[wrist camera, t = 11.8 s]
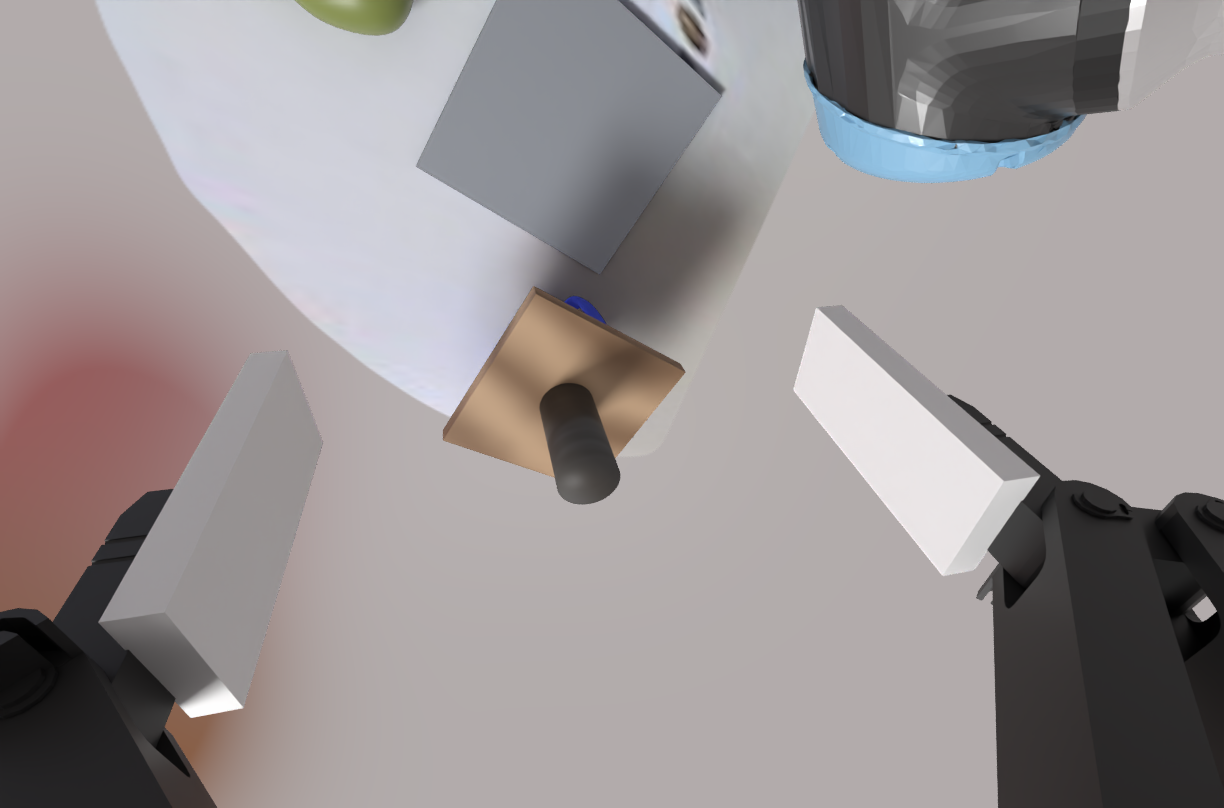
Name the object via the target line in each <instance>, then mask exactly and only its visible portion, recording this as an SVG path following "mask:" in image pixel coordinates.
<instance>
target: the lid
mask: <svg viewBox="0 0 1224 808" xmlns="http://www.w3.org/2000/svg"><path fill="white" fill-rule="evenodd" d="M684 374H685V370H684V369H683V367H682V366H681V364H680V363H678V362H676V361H674V360H672V359H670V358H669V357H667V356H665V355H663V354H661V353H659V352H657V351H655V350H653V349H652V348H650V347H648V346H646V345H644V344H642V343H640V342H638V341H636V340H635V339H633V338H631V337H629V336H627V335H625V334H623V333H621V332H619V331H618V330H616V329H614V328H612V327H610V326H608V325H606V324H604V323H602V322H601V321H599V320H597V319H595V318H593V317H591V316H589V315H587V314H585V313H584V312H582V311H580V310H578V309H576V308H574V307H572V306H570V305H568V304H567V303H565V302H563V301H561V300H559V299H557V298H555V297H553V296H551V295H550V294H548V293H546V292H544V291H542V290H540V289H538V288H536V287H534V286H533V288H532V289H531V291H530V292H529V294H528V296H527V297H526V299H525V300H524V302H523V304H522V305H521V307H520V308H519V310H518V311H517V313H516V315H515V316H514V318H513V319H512V321H511V323H510V324H509V326H508V327H507V329H506V331H505V332H504V334H503V335H502V337H501V339H500V340H499V342H498V343H497V345H496V347H495V348H494V350H493V351H492V353H491V354H490V356H489V358H488V359H487V361H486V362H485V364H484V366H483V367H482V369H481V370H480V372H479V374H478V375H477V377H476V378H475V380H474V382H473V383H472V385H471V386H470V388H469V389H468V391H467V393H466V394H465V396H464V397H463V399H462V401H461V402H460V404H459V405H458V407H457V409H456V410H455V412H454V413H453V415H452V417H451V418H450V420H449V421H448V423H447V425H446V426H445V428H444V429H443V440H444V441H446V442H449V443H452V444H456V445H459V446H462V447H464V448H467V449H470V450H473V451H476V452H479V453H482V454H485V455H488V456H492V457H494V458H497V459H500V460H503V461H507V462H510V463H512V464H516V465H518V466H522V467H525V468H528V469H531V470H534V471H537V472H539V473H542V474H545V475H549V476H551V477H554V478H555V480H556V485H557V489H558V492H559V494H560V495H561V497H562V498H563V499H565V500H566V501H568V502H571V503H574V504H591V503H595V502H598V501H600V500H602V499H604V498H606V497H607V496H609V495H610V494H611V493H612V492H613V491H614V490H615V488H616V487H617V486H618V484H619V481H620V471H619V468H618V466H617V463H616V460H615V458H616V457H617V456H618V454H619V453H620V452H621V451H622V449H623V448H624V447H625V446H626V444H627V443H628V442H629V441H630V440H631V438H632V437H633V436H634V435H635V433H636V432H637V431H638V430H639V429H640V427H641V426H642V425H643V424H644V422H645V421H646V420H647V419H648V418H649V416H650V415H651V414H652V413H653V411H654V410H655V409H656V408H657V407H658V405H659V404H660V403H661V402H662V400H663V399H664V398H665V397H666V396H667V394H668V393H669V392H670V391H671V389H672V388H673V387H674V386H675V385H676V383H677V382H678V381H679V380H680V378H681V377H682V376H683V375H684Z"/></svg>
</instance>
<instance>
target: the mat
mask: <svg viewBox="0 0 1224 808" xmlns="http://www.w3.org/2000/svg"><path fill="white" fill-rule="evenodd" d="M721 97H722V96H721V95H720V94H719V93H718V92H717V91H716V90H715V89H714V88H713V87H712V86H711V85H709V84H708V83H707V82H706V81H705V80H704V79H703V78H702V77H701V76H700V75H699V74H698V73H696V72H695V71H694V70H693V69H692V68H691V67H690V66H689V65H688V64H687V63H686V62H685V61H683V60H682V59H681V58H680V57H679V56H678V55H677V54H676V53H675V52H674V51H673V50H672V49H670V48H669V47H668V46H667V45H666V44H665V43H664V42H663V41H662V40H661V39H660V38H659V37H657V36H656V35H655V34H654V33H653V32H652V31H651V30H650V29H649V28H648V27H647V26H646V25H644V24H643V23H642V22H641V21H640V20H639V19H638V18H637V17H636V16H635V15H634V14H633V13H631V12H630V11H629V10H628V9H627V8H626V7H625V6H624V5H623V4H622V3H621V2H620V1H618V0H496V2H495V4H494V6H493V8H492V10H491V12H490V14H489V16H488V18H487V21H486V23H485V25H484V27H483V29H482V31H481V33H480V35H479V37H478V39H477V41H476V43H475V45H474V47H473V49H472V51H471V54H470V56H469V58H468V60H467V62H466V64H465V66H464V68H463V70H462V72H461V74H460V76H459V78H458V80H457V82H456V84H455V87H454V89H453V91H452V93H451V95H450V97H449V99H448V101H447V103H446V105H445V107H444V109H443V111H442V113H441V115H440V117H439V120H438V122H437V124H436V126H435V128H434V130H433V132H432V134H431V136H430V138H429V140H428V142H427V144H426V146H425V148H424V150H423V153H422V155H421V157H420V159H419V161H418V163H417V165H416V167H417V168H419V169H421V170H423V171H424V172H426V173H428V174H429V175H431V176H433V177H434V178H436V179H438V180H440V181H441V182H443V183H445V184H446V185H448V186H450V187H451V188H453V189H455V190H457V191H458V192H460V193H462V194H463V195H465V196H467V197H468V198H470V199H472V200H474V201H475V202H477V203H479V204H480V205H482V206H484V207H485V208H487V209H489V210H491V211H492V212H494V213H496V214H497V215H499V216H501V217H502V218H504V219H506V220H508V221H509V222H511V223H513V224H514V225H516V226H518V227H519V228H521V229H523V230H525V231H526V232H528V233H530V234H531V235H533V236H535V237H536V238H538V239H540V240H542V241H543V242H545V243H547V244H548V245H550V246H552V247H553V248H555V249H557V250H559V251H560V252H562V253H564V254H565V255H567V256H569V257H570V258H572V259H574V260H576V261H577V262H579V263H581V264H582V265H584V266H586V267H587V268H589V269H591V270H593V271H594V272H596V273H598V274H599V275H600V274H601V272H602V271H603V269H604V268H605V266H606V265H607V263H608V262H609V260H610V259H611V258H612V256H613V255H614V253H615V252H616V250H617V249H618V247H619V246H620V244H621V243H622V241H623V240H624V239H625V237H626V236H627V234H628V233H629V231H630V230H631V228H632V227H633V225H634V224H635V222H636V221H637V220H638V218H639V217H640V215H641V214H642V212H643V211H644V209H645V208H646V206H647V205H648V203H649V202H650V201H651V199H652V198H653V196H654V195H655V193H656V192H657V190H658V189H659V187H660V186H661V184H662V183H663V181H664V180H665V179H666V177H667V176H668V174H669V173H670V171H671V170H672V168H673V167H674V165H675V164H676V162H677V161H678V160H679V158H680V157H681V155H682V154H683V152H684V151H685V149H686V148H687V146H688V145H689V143H690V142H691V141H692V139H693V138H694V136H695V135H696V133H697V132H698V130H699V129H700V127H701V126H702V124H703V123H704V122H705V120H706V119H707V117H708V116H709V114H710V113H711V111H712V110H713V108H714V107H715V105H716V104H717V103H718V101H719V100H720V98H721Z"/></svg>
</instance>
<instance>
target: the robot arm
mask: <svg viewBox="0 0 1224 808" xmlns="http://www.w3.org/2000/svg"><path fill="white" fill-rule="evenodd" d="M798 7H799V14H800V22H801V29H802V36H803V43H804V50H805V60H804V64H803V67H804V75H805V79H806V82H807V85H808V87H809V88H810V90H811V92H812V93H813V98H814V103H815V108H816V114H817V119H818V124H819V129H820V133H821V135H822V138H823V140H824V142H825V144H826V145H827V147H828V148H830V149H831V150H832V151H834V152H835V154H836V156H837V157H839V158H840V160H841V161H842V162H844V163H845V164H847V165H849V166H851V167H853V168H854V169H856V170H859V171H861V172H864V173H866V174H869V175H873V176H876V177H880V178H884V179H890V180H896V181H904V182H918V183H937V182H938V183H940V182H955V181H964V180H971V179H976V178H981V177H986V176H991V175H992V174H993V173H994V172H995V171H996V169H997V168H998V167H1007V168H1014V169H1017V168H1019V167H1022V166H1025V165H1027V164H1030V163H1032V162H1034V161H1037V160H1039V159H1041V158H1043V157H1045V156H1046V155H1048V154H1050V153H1051V152H1053V151H1054V150H1056V149H1057V148H1058V147H1059V146H1061V145H1062V144H1063V143H1065V142H1066V141H1067V140H1068V139H1069V138H1070V137H1071V135H1072V134H1073V133H1074V131H1075V130H1076V128H1077V127H1078V126H1079V125H1080V123H1081V122H1082V121H1083V120H1084V118H1085V116H1086V115H1087V114H1093V113H1102V112H1111V111H1121V110H1128V109H1132V108H1134V107H1135V106H1136V105H1138V104H1139V103H1140V102H1142V101H1143V100H1144V99H1145V98H1147V97H1148V96H1149V95H1151V94H1152V93H1153V92H1155V91H1156V90H1157V89H1159V88H1160V87H1161V86H1162V85H1164V84H1165V83H1166V82H1168V81H1169V80H1170V79H1172V78H1173V77H1174V76H1176V75H1177V74H1178V73H1180V72H1181V71H1182V70H1183V69H1185V68H1186V67H1188V66H1190V65H1192V64H1194V63H1196V62H1198V61H1200V60H1202V59H1204V58H1206V57H1208V56H1215V55H1222V54H1224V0H798ZM793 390H794V392H795V393H796V394H797V395H798V397H799V398H800V399H801V400H802V402H803V403H804V404H805V405H806V407H807V408H808V409H809V410H810V412H811V413H812V414H813V415H814V417H815V418H816V419H817V420H818V422H819V423H820V424H821V425H822V426H823V428H824V429H825V430H826V432H827V433H828V434H829V435H830V437H831V438H832V439H833V440H834V442H835V443H836V444H837V445H838V446H839V448H840V449H841V450H842V451H843V453H844V454H845V455H846V456H847V458H848V459H849V460H850V461H851V463H852V464H853V465H854V466H855V468H856V469H857V470H858V471H859V473H860V474H861V475H862V476H863V478H864V479H865V480H866V481H867V482H868V484H869V485H870V486H871V488H872V489H873V490H874V491H875V492H876V494H877V495H878V496H879V497H880V499H881V500H882V501H883V502H884V504H885V505H886V506H887V507H888V509H889V510H890V511H891V512H892V514H893V515H894V516H895V517H896V519H897V520H898V521H899V522H900V524H901V525H902V526H903V527H904V529H905V530H906V531H907V532H908V533H909V535H910V536H911V537H912V539H913V540H914V541H915V542H916V543H917V544H918V546H919V547H920V548H921V550H922V551H923V552H924V553H925V555H926V556H927V557H928V558H929V559H930V561H931V562H932V563H933V565H934V566H935V567H936V568H937V570H938V571H939V572H940V573H941V574H942V576H946V575H951V574H956V573H961V572H967V571H972V570H975V568H976V567H977V566H978V564H979V563H980V561H981V560H982V558H983V557H984V555H985V554H986V553H987V551H989V552H990V553H991V555H992V556H993V557H994V558H995V559H996V560H997V561H998V562H999V564H998V565H997V566H996V568H995V569H994V571H993V572H992V573H991V575H990V576H989V578H988V579H987V580H986V582H985V583H984V584H983V585H982V587H981V588H980V590H979V591H978V594H977V597H976V598H977V599H979V600H983V599H984V597H985V596H986V595H987V593H988V592H989V591H992V590H993V601H992V602H991V604H992V605H993V622H994V662H995V702H996V740H997V779H998V808H1224V500H1221V499H1218V498H1215V497H1210V496H1207V495H1203V494H1199V493H1182V494H1179V495H1176V496H1175V497H1174V498H1173V499H1172V500H1171V502H1170V503H1169V504H1168V505H1167V506H1166V507H1165V508H1164V509H1163V510H1153V509H1144V508H1136V507H1131V506H1129V505H1128V504H1127V503H1126V502H1125V501H1124V500H1123V499H1122V498H1120V497H1118V496H1117V495H1115V494H1113V493H1112V492H1110V491H1108V490H1107V489H1104V488H1102V487H1099V486H1096V485H1094V484H1091V483H1087V482H1082V481H1077V480H1072V481H1061V480H1060V479H1059V478H1058V477H1057V476H1056V475H1054V474H1053V473H1052V472H1051V471H1050V470H1049V469H1047V468H1046V467H1045V466H1044V465H1042V464H1041V463H1040V462H1039V461H1038V460H1037V459H1035V458H1034V457H1033V456H1032V455H1031V454H1029V453H1028V452H1027V451H1026V450H1024V449H1023V448H1022V447H1021V446H1020V445H1019V444H1017V443H1016V442H1015V441H1014V440H1013V439H1011V438H1010V437H1006V434H1005V433H1004V432H1003V431H1002V430H1001V429H999V428H998V427H997V426H996V425H992V424H991V421H990V420H989V419H988V418H986V417H985V416H984V415H983V414H982V413H980V412H979V411H978V410H977V409H976V408H974V407H973V406H971V405H969V404H967V403H965V402H964V401H961V400H960V399H958V398H956V397H954V396H952V395H946V394H945V393H944V392H942V391H941V390H940V389H939V388H937V386H935V385H934V384H933V383H932V382H931V381H930V380H928V379H927V378H926V377H925V376H924V375H923V374H921V373H920V372H919V371H918V370H917V369H915V368H914V367H913V366H912V365H911V364H910V363H909V362H907V361H906V360H905V359H904V358H903V357H902V356H901V355H899V354H898V353H897V352H896V351H895V350H894V349H892V348H891V347H890V346H889V345H888V344H886V343H885V342H884V341H883V340H882V339H881V338H879V337H878V336H877V335H876V334H875V333H874V332H873V331H871V330H870V329H869V328H868V327H867V326H866V325H864V324H863V323H862V322H861V321H860V320H858V318H856V317H855V316H854V315H853V314H852V313H851V312H849V311H848V310H847V309H846V308H845V307H844V306H842V305H840V306H827V307H817V308H816V311H815V315H814V318H813V322H812V325H811V329H810V332H809V336H808V340H807V343H806V347H805V350H804V354H803V357H802V361H801V365H800V368H799V371H798V375H797V378H796V382H795V386H794V389H793ZM322 445H323V440H322V437H321V435H320V432H319V430H318V427H317V425H316V422H315V419H314V417H313V414H312V412H311V409H310V406H309V404H308V401H307V399H306V396H305V393H304V391H303V389H302V386H301V383H300V380H299V378H298V375H297V373H296V370H295V368H294V365H293V362H292V360H291V357H290V355H289V352H288V350H283V351H272V352H259V353H250V355H249V357H248V358H247V360H246V362H245V364H244V366H243V367H242V369H241V371H240V373H239V374H238V376H237V378H236V380H235V382H234V383H233V385H232V387H231V389H230V390H229V392H228V394H227V396H226V397H225V399H224V401H223V403H222V404H221V406H220V408H219V410H218V412H217V413H216V415H215V417H214V419H213V420H212V422H211V424H210V426H209V428H208V429H207V431H206V433H205V435H204V436H203V438H202V440H201V442H200V444H199V445H198V447H197V449H196V450H195V452H194V454H193V456H192V458H191V459H190V461H189V463H188V465H187V467H186V468H185V470H184V472H183V473H182V475H181V477H180V479H179V481H178V482H177V484H176V486H175V488H174V489H168V490H160V491H151V492H147V493H146V494H145V495H143V496H142V497H141V498H140V499H139V500H138V501H136V502H135V503H134V504H133V505H132V506H131V507H129V508H128V509H127V510H126V511H125V512H124V513H123V514H121V515H120V517H119V518H118V520H117V522H116V523H115V525H114V526H113V528H112V529H111V531H110V533H109V534H108V536H107V537H106V539H105V545H101V547H100V548H99V550H98V552H97V553H96V555H95V556H94V558H93V559H92V566H88V567H87V569H86V570H85V572H84V574H83V575H82V577H81V578H80V580H79V581H78V583H77V585H76V586H75V588H74V589H73V591H72V592H71V594H70V595H69V597H68V599H67V600H66V602H65V603H64V605H63V606H62V608H61V610H60V611H59V613H58V614H57V616H56V617H55V619H54V621H53V622H52V621H51V620H49V618H47V617H46V616H45V615H43V614H42V613H41V612H40V611H38V610H34V609H21V608H17V609H12V610H8V611H3V612H0V808H217V806H216V805H215V803H214V801H213V800H212V798H211V797H210V795H209V793H208V792H207V790H206V789H205V787H204V785H203V784H202V782H201V781H200V779H199V777H198V776H197V774H196V772H195V771H194V769H193V768H192V766H191V764H190V763H189V761H188V759H187V758H186V756H185V755H184V753H183V752H182V750H181V748H180V747H179V745H178V743H177V742H176V740H175V738H174V737H173V735H172V734H171V733H170V732H169V731H168V730H166V728H165V724H166V722H167V719H168V717H169V714H170V712H171V709H172V707H173V704H174V702H176V703H177V704H178V705H179V706H180V707H181V708H182V709H183V710H184V711H185V712H186V713H187V714H188V715H189V716H190V717H191V718H193V717H198V716H203V715H208V714H214V713H219V712H225V711H230V710H235V709H240V708H244V705H245V701H246V698H247V695H248V691H249V688H250V684H251V681H252V678H253V675H254V671H255V668H256V665H257V661H258V658H259V655H260V651H261V648H262V644H263V641H264V638H265V635H266V631H267V628H268V625H269V621H270V618H271V615H272V611H273V608H274V605H275V601H276V598H277V595H278V591H279V588H280V585H281V581H282V578H283V575H284V571H285V568H286V565H287V561H288V558H289V555H290V551H291V548H292V545H293V541H294V538H295V535H296V531H297V528H298V525H299V521H300V518H301V515H302V511H303V508H304V505H305V501H306V498H307V494H308V491H309V488H310V485H311V481H312V478H313V475H314V471H315V468H316V465H317V461H318V458H319V455H320V451H321V448H322ZM1206 596H1207V597H1208V598H1209V599H1210V601H1211V602H1212V604H1213V605H1214V607H1215V608H1216V610H1217V612H1216V613H1215V614H1213V615H1212V616H1211V617H1210V618H1209V619H1207V620H1205V621H1204V622H1202V621H1201V620H1200V619H1199V618H1198V617H1197V615H1196V614H1195V612H1194V611H1193V610H1192V608H1193V607H1194V606H1195V605H1197V604H1198V603H1199V602H1200V601H1201V600H1202V599H1204V598H1205V597H1206Z"/></svg>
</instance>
